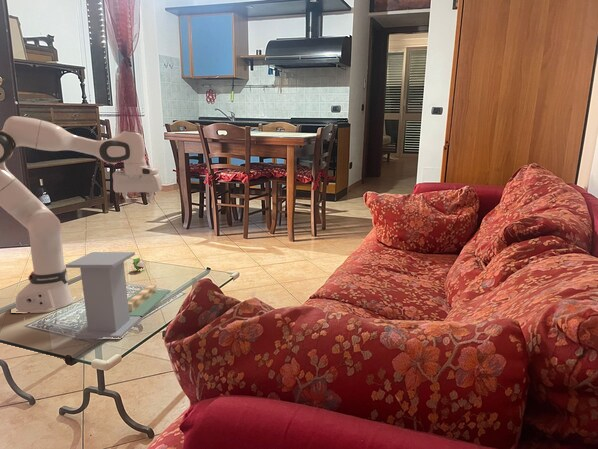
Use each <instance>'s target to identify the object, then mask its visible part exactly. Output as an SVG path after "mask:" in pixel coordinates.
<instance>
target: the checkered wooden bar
mask: <svg viewBox="0 0 598 449" xmlns="http://www.w3.org/2000/svg"><path fill="white" fill-rule="evenodd" d="M141 290H142V291H141V292H139V293H138V294H137V295H135V296H134V297H133V298H131V299H130V300H129V301H128V308H129V311H133V310H135V309H136V308H137V307H138V306H140V305H141V304H142V303H143V302H144V301H146V300H147V299H148V298H149V297H151V296H152V295H153V294H154V293H156V290H157V286H156V284H149V285H147V286H146V287H145V288H143V289H141Z"/></svg>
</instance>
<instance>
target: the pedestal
mask: <svg viewBox="0 0 598 449" xmlns="http://www.w3.org/2000/svg"><path fill="white" fill-rule="evenodd" d="M135 255H136V252H135V251H115V252H114V251H103V252H101V251H92V252H90V253H88V254H85V255H83V256H81V257H79V258H77V259H75V260H73V261H70V262H69V263H67V264H65V268H66V269H74V268H75V269H79V268H80V276H81V277H80V278H81V283H82V293H83V300H84V307H85V308H84V309H85V316H86V322H87V325H86V326H85V327H83V328H82V329H80V331H78V332H77V333H75V334H74V338H75V340H99V339H98V338H103V337H113V338H118V337H119V338H121V337H122V336H123V335H124V334H125V333H126V332H127V331H129V330H130V329H131V328H132V327H133V326H135V325H136V324H137V323H138V324H140V323H141V322H142V321H143V320H142V318H143V317H140V316H129V308H128V298H129V297H128V291H127V283H126V282H127V281H126V272H125V261H127V260H129V259H131V258H132V257H134V256H135ZM141 320H142V321H141ZM138 324H137V325H138ZM137 325H136V326H137ZM136 326H135V327H136Z"/></svg>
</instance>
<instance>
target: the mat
mask: <svg viewBox="0 0 598 449" xmlns="http://www.w3.org/2000/svg"><path fill="white" fill-rule="evenodd" d="M142 290H143V289H139V290H137V291H136V292H135V293H134V294H132V295H131V296H130V297H127V298H128V301H129V300H130V299H131V298H133V297H134V296H135V295H137V294H138V293H139V292H141V291H142ZM169 293H171V290H170V289H164V290H163V289H156V293H154V294H153V295H152V296H151V297H149V298H148V299H147V300H146V301H144V302H143V303H142V304H141V305H140V306H138V307H137V308H136V309H135V310H133V311H129V316H143V315H144V314H145V313H146V314H148V313H149V312H150V311H151V310H152V309H153V308H154V307H155V306H157V304H158V303H160V302H161V301H162V300H163V299H164V298H165V297H166V296H167V295H168V294H169ZM150 309H151V310H150ZM149 310H150V311H149ZM148 311H149V312H148ZM147 312H148V313H147ZM146 314H145V315H146ZM145 315H144V316H145ZM144 316H143V317H144Z"/></svg>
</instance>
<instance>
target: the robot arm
mask: <svg viewBox="0 0 598 449" xmlns="http://www.w3.org/2000/svg"><path fill="white" fill-rule="evenodd" d="M18 147H27V148H31V149H35V150H39V151H48V152H59V151H73V152H78V153H83V154H86V155H90V156H94V157H96V158H97V159H99V161H102V162H103V163H106V164H117V163H119V162H123V167H124V170H115V171H114V172H113V173H112V180H113V181H112V190H113V191H114V192H115V193H121V195H122V197H123V198H124V200H125V203H126V204H131V198H129V197H128V193H148V195H149V197H148V198H146V202H147V204H149V203H150V204H151V203H152V202H153V197H154V195H155V193H158V192H161V191H162V189H163V186H162V179H161V177H160V175H159V174H158V173H159V169H158V167H153V166H150V165H147V161H146V157H145V156H146V147H145V140H144V137H143V135H142V133H140V132H137V131H133V130H123V131H122V132H121V133H119V134H118V135H115V136H113V137H111V138H109V139H107V138H106V139H100V140H98V139H97V140H96V139H91V138H87V137H83V136H80V135H79V136H78V135H75V134H73V133H71V132H69V131H67V130H66V129H65V128H63V127H62V126H60V125H57V124H54V123H53V122H50V121H47V120H43V119H38V118H35V117H34V118H33V117H27V116H17V115H12V116H9V117H8V118H7V119H6V120H5V122H4V123H3V128H2V129H1V130H0V208H2V209H3V210H5V212H7V213H8V214H9V215H10V216H12V217H13V218H14V219H15V220H17V222H19V223H20V224H21V225H22V226H23V227H24V228H26V230H27V231H28V236H29V243H30V244H29V245H30V256H31V261H32V262H31V263H32V268H33V270H32V272H30V274H29V276H28V277H27V278H28V281H29V283H28V284H27V285H25V286H24V287H23V288H22V289H21V290H20V291H18V293H17V294H16V297H15V304H16V309H17V310H18V311H16V312H30V313H29V314H39V313H41V314H42V313H50V312H53V311H55V310H58V309H62V308H65V307H68V306H69V305H71V304H73V303H74V301H75V300H74V298H73V295H72V293H71V291H70V287H69V283H68V282H69V278H68V271H67V268H66V264H65V259H64V252H63V237H62V236H63V235H62V234H63V233H62V224H61V220H60V218H58V216H57V215H55V213H54V212H52V210H50V209H49V208H48V207H47V206H46V205H45V204H44V203H43V202H42V201H41V200H40V199H39V198H38V197H37V196H36V195H34V194H33V193H32V191H31V190H30V189H28V188H27V187H26V186H25V185H24V184H23V183H22V182H21V181H20V180H19V179H18V178H17V177H16V176H15V175H14V174H12V172H11V171H10V170H9V169H8V167H7V166H6V163H7V161H8V160H9V159H10V158H11V157H12V155H13V153H14V151H15V149H16V148H18Z"/></svg>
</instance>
